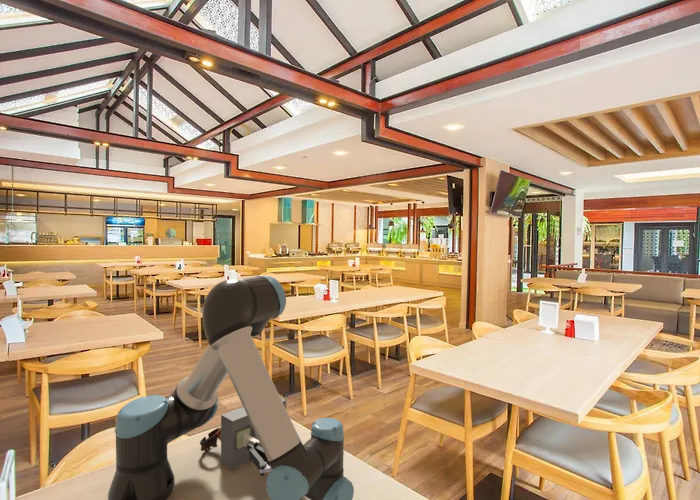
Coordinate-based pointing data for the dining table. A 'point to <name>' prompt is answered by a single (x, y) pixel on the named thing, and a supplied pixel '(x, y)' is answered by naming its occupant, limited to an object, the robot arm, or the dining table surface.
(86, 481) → the dining table surface
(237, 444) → the sage button
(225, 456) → the console
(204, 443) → the pottery mug
